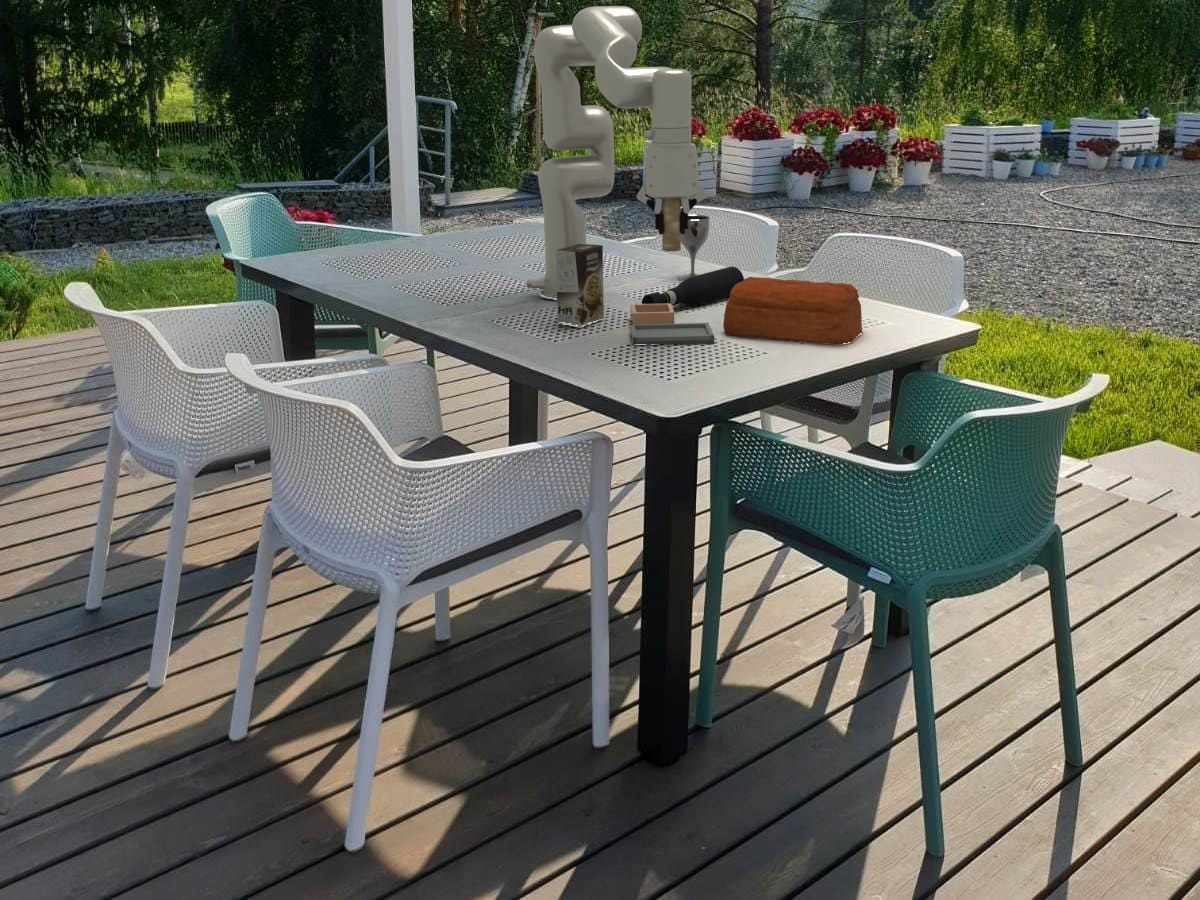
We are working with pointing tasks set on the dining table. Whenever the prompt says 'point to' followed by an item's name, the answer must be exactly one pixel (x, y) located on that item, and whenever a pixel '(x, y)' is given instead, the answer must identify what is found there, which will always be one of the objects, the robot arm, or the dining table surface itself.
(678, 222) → the dowel
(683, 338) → the tray
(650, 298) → the wine bottle
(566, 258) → the coffee box
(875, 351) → the dining table surface
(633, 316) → the square copper frame
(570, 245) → the robot arm
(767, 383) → the dining table surface
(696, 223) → the wine glass
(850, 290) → the bread
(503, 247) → the dining table surface
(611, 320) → the dining table surface
